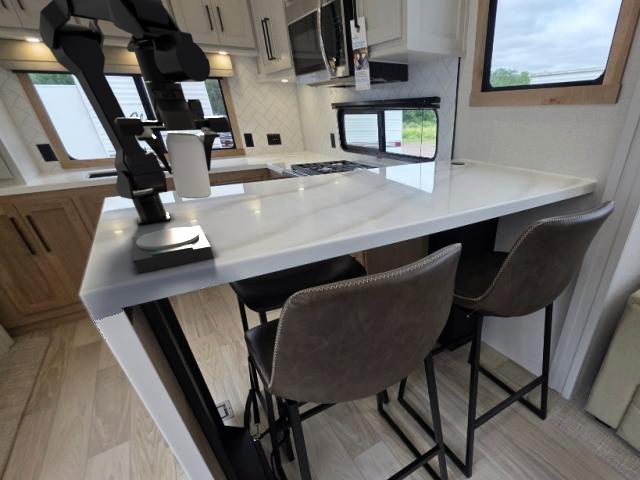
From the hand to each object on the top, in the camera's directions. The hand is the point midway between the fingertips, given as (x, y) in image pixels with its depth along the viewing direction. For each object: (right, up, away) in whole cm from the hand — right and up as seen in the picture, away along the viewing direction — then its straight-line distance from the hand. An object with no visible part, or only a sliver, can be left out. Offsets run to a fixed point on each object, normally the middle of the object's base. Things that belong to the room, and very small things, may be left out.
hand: (190, 172), depth 69 cm
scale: (-1, -17, -3) cm, 18 cm away
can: (0, -4, +2) cm, 5 cm away
